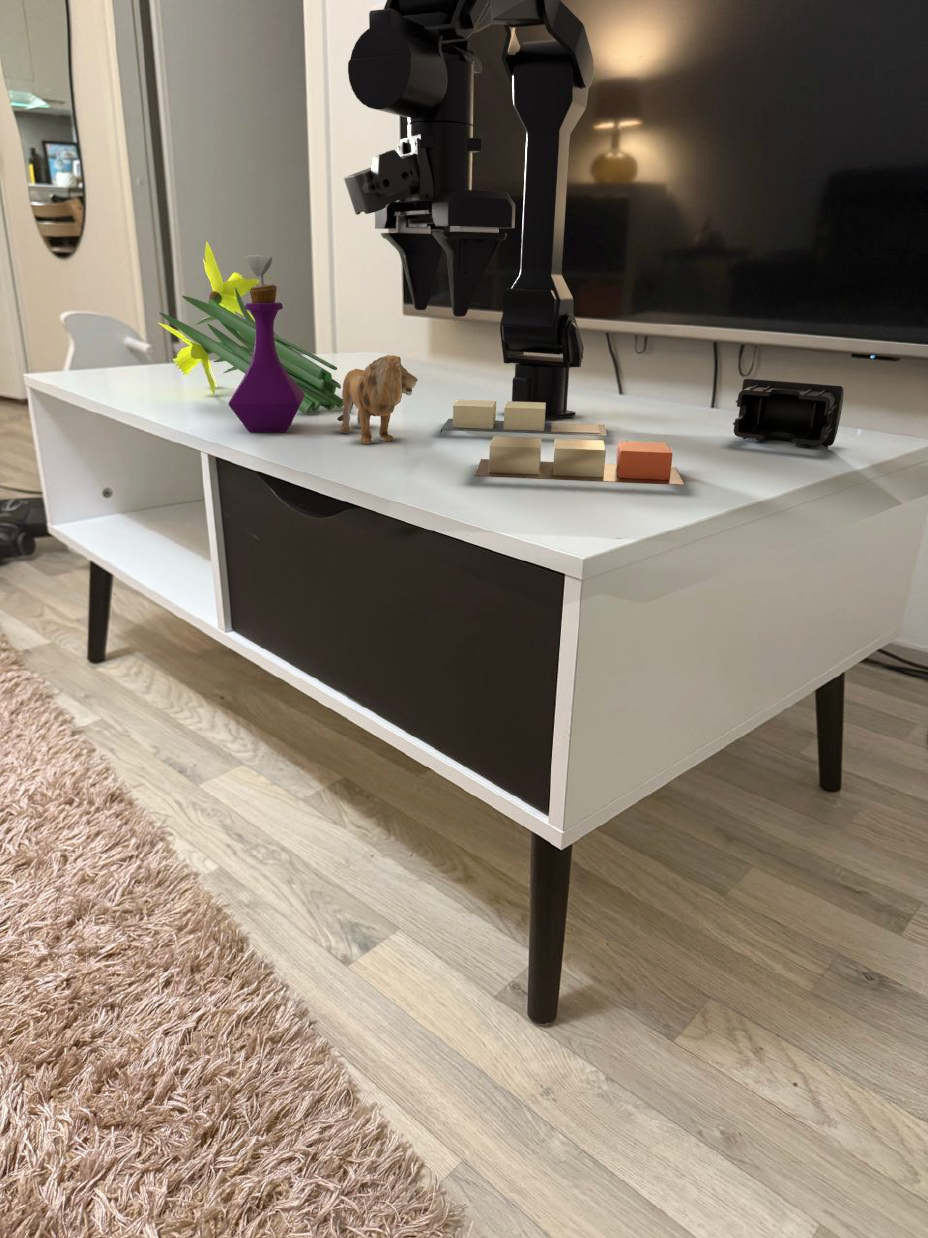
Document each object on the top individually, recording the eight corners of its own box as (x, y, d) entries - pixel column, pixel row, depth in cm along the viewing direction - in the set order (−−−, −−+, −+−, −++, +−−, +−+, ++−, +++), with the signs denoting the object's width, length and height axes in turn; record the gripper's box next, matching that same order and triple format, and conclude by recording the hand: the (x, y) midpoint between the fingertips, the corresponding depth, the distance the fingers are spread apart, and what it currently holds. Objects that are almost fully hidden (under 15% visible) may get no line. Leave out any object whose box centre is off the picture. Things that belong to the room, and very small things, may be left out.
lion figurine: (422, 445, 94) (423, 355, 90) (377, 450, 91) (376, 358, 88) (357, 423, 105) (355, 342, 102) (315, 426, 102) (312, 344, 99)
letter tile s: (618, 478, 78) (620, 450, 77) (615, 467, 82) (617, 440, 81) (669, 480, 78) (672, 452, 77) (664, 469, 82) (667, 442, 81)
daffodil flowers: (250, 429, 105) (107, 325, 123) (327, 473, 118) (186, 373, 136) (328, 303, 103) (171, 217, 122) (397, 362, 116) (245, 276, 134)
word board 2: (473, 484, 78) (474, 447, 77) (480, 467, 85) (481, 432, 84) (684, 493, 77) (688, 456, 76) (675, 475, 83) (678, 440, 82)
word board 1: (440, 436, 98) (440, 406, 97) (447, 425, 105) (448, 397, 104) (606, 443, 97) (609, 412, 96) (604, 431, 103) (606, 402, 102)
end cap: (835, 447, 97) (846, 382, 95) (826, 459, 91) (837, 390, 89) (741, 437, 102) (749, 375, 99) (726, 448, 96) (735, 382, 93)
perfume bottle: (240, 422, 104) (228, 253, 97) (306, 422, 105) (298, 255, 98) (230, 434, 97) (216, 254, 90) (300, 435, 98) (292, 255, 91)
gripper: (320, 130, 84) (327, 307, 90) (392, 104, 68) (394, 321, 74) (431, 138, 88) (430, 306, 94) (521, 116, 73) (514, 319, 79)
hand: (438, 312), depth 85 cm, fingers open, 9 cm apart
